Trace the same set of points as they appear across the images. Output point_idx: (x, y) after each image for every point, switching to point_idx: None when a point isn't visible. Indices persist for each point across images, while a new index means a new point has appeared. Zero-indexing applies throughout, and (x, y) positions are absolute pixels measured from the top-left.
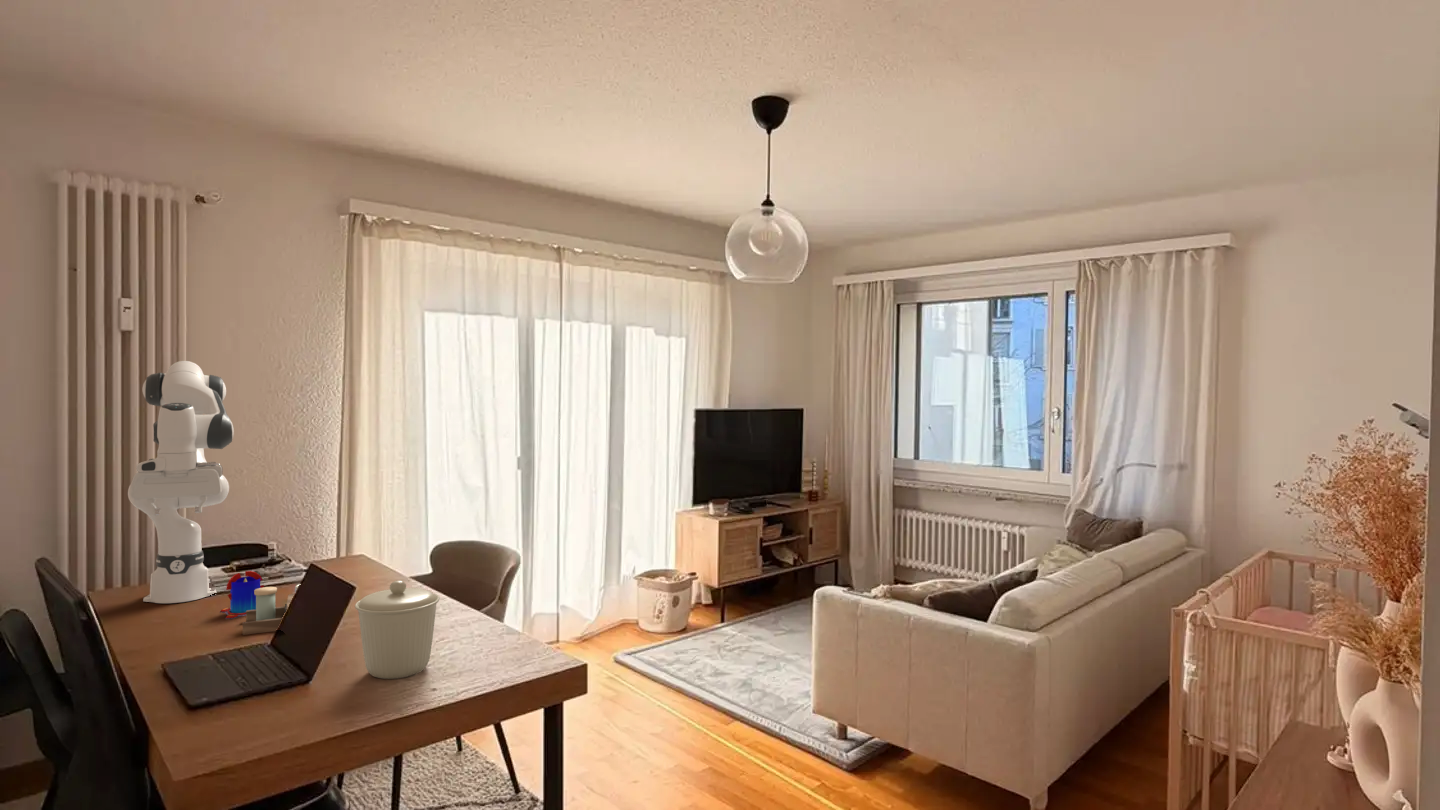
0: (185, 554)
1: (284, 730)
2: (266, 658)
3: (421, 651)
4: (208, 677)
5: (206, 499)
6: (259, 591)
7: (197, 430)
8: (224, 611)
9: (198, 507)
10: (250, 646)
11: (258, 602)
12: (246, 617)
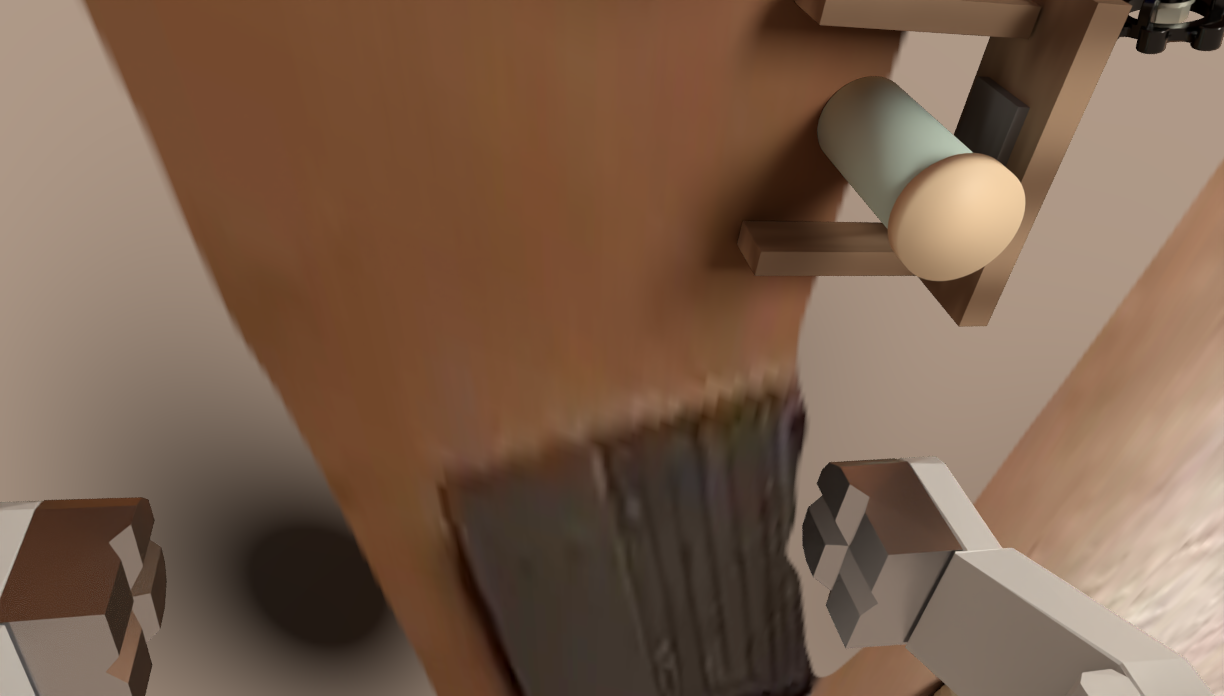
0: None
1: None
2: (756, 537)
3: None
4: (588, 626)
5: (1172, 658)
6: (915, 267)
7: None
8: None
9: (897, 631)
10: (736, 409)
11: (881, 221)
12: (807, 12)
